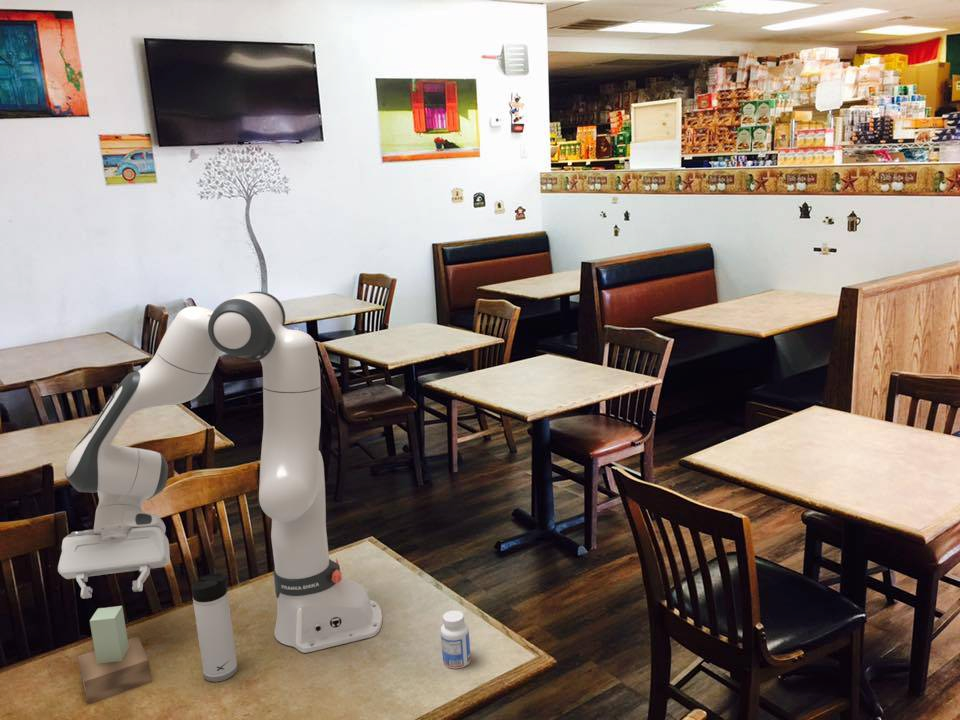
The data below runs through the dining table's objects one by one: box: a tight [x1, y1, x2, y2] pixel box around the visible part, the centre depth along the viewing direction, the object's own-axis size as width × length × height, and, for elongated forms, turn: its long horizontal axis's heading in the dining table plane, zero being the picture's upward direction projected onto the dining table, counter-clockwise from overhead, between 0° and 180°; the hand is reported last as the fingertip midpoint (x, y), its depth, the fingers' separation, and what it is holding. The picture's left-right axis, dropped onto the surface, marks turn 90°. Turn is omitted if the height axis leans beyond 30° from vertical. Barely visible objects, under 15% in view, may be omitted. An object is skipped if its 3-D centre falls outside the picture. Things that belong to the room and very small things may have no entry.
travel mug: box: [190, 572, 238, 683], centre depth 148 cm, size 6×7×20 cm
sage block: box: [89, 605, 129, 664], centre depth 149 cm, size 4×4×9 cm
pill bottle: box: [440, 609, 471, 670], centre depth 149 cm, size 6×5×10 cm
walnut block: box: [77, 636, 152, 705], centre depth 149 cm, size 11×10×5 cm
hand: (111, 594), depth 150 cm, fingers open, 8 cm apart
